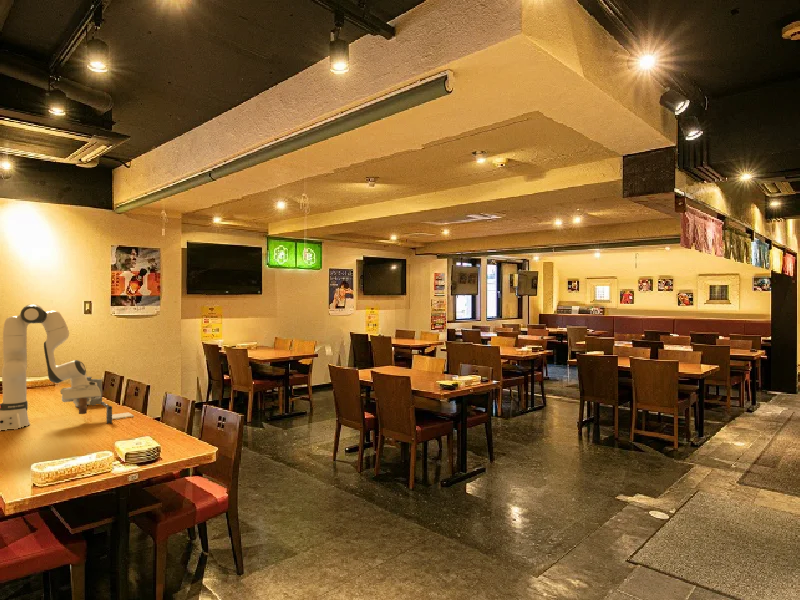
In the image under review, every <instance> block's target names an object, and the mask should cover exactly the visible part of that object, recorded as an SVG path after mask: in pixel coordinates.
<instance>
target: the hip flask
mask: <svg viewBox="0 0 800 600" xmlns="http://www.w3.org/2000/svg"><path fill="white" fill-rule="evenodd" d="M87 380H88V381H91V382H96V383H97V386H98V387H99V389H100V392H101V397H100V398H99V399H93V400H91V401H90V405H92V406H97V405H96V404H101V402H103V379H102V378H98V379H97V378H93V376H87ZM77 402H78V403H79V401H77ZM87 402H88V400H87ZM76 408H79V406H77V407H76Z"/></svg>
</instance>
